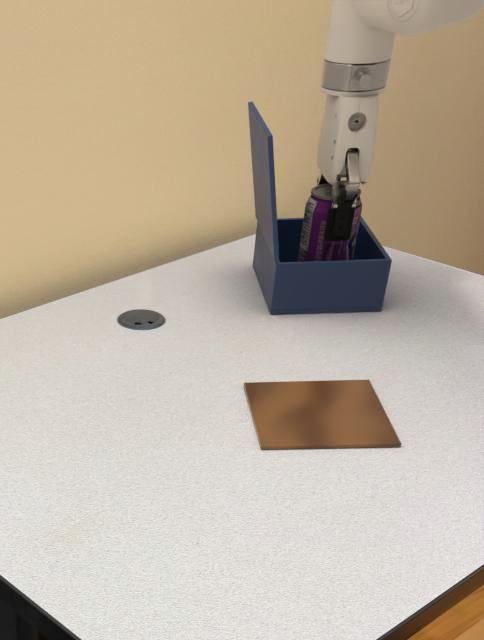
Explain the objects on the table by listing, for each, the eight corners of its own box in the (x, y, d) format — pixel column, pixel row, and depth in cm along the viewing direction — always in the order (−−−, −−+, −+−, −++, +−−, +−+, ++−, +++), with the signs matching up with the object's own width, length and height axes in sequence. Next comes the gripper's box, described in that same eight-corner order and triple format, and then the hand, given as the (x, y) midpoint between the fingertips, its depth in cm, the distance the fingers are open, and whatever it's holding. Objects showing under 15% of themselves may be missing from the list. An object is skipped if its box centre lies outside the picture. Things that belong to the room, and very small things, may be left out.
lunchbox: (352, 262, 128) (360, 215, 124) (381, 311, 115) (392, 260, 111) (252, 266, 129) (257, 219, 125) (270, 314, 116) (276, 264, 112)
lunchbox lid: (252, 101, 116) (247, 102, 116) (272, 135, 103) (267, 136, 103) (259, 216, 125) (255, 217, 125) (279, 260, 112) (274, 261, 112)
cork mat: (368, 382, 101) (369, 379, 101) (400, 446, 91) (401, 443, 90) (243, 385, 102) (243, 382, 102) (260, 449, 92) (261, 446, 91)
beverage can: (338, 296, 118) (354, 201, 110) (286, 287, 121) (299, 194, 114) (355, 278, 123) (372, 185, 115) (305, 270, 126) (318, 179, 118)
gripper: (406, 90, 99) (375, 251, 110) (369, 60, 112) (344, 206, 124) (337, 94, 99) (313, 253, 111) (308, 63, 113) (289, 208, 124)
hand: (330, 228), depth 117 cm, fingers open, 7 cm apart
